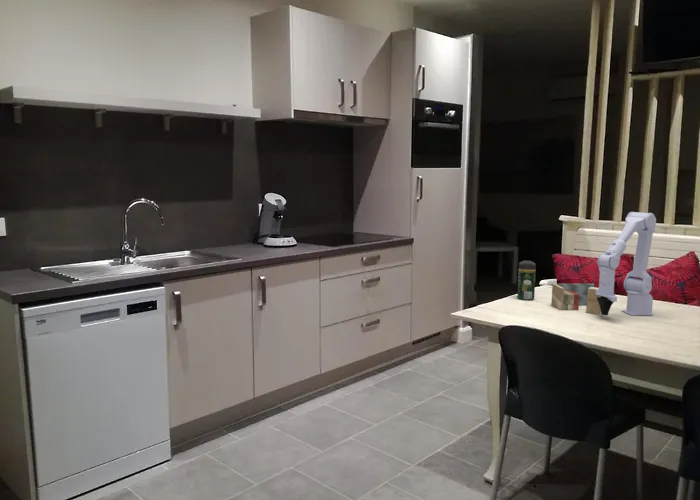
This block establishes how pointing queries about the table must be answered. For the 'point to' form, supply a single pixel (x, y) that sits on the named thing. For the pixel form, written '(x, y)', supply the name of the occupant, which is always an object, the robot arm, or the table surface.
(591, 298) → the box
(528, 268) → the coffee jar
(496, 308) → the table surface
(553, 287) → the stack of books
